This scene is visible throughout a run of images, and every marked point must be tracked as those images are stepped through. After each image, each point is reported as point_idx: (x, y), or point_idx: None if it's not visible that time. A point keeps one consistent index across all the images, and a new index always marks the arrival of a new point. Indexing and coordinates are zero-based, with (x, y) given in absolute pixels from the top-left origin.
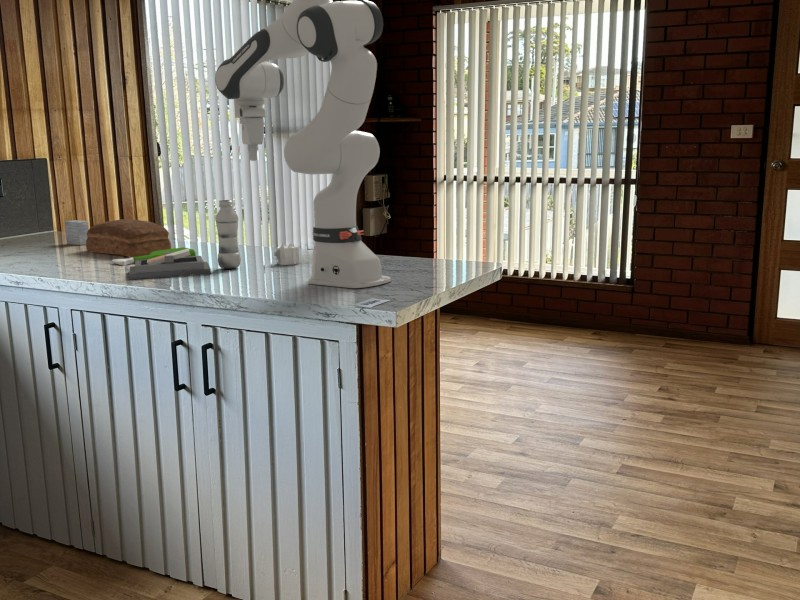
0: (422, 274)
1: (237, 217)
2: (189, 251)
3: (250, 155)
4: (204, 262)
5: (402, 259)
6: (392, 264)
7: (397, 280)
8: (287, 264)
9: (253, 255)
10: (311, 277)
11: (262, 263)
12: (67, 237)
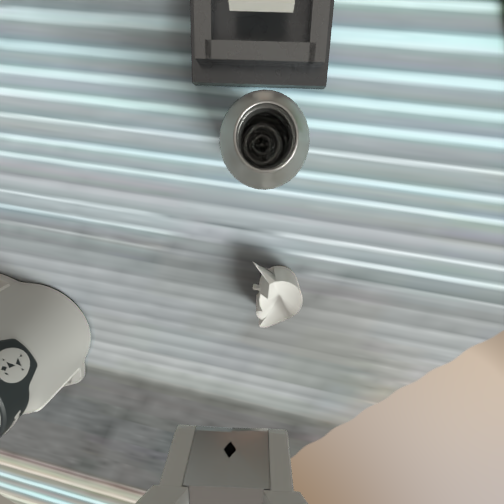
0: (55, 452)
1: (246, 184)
2: (229, 2)
3: (163, 473)
4: (315, 76)
5: None
6: None
7: None
8: (259, 282)
9: (450, 234)
10: (6, 284)
11: (305, 233)
12: None
